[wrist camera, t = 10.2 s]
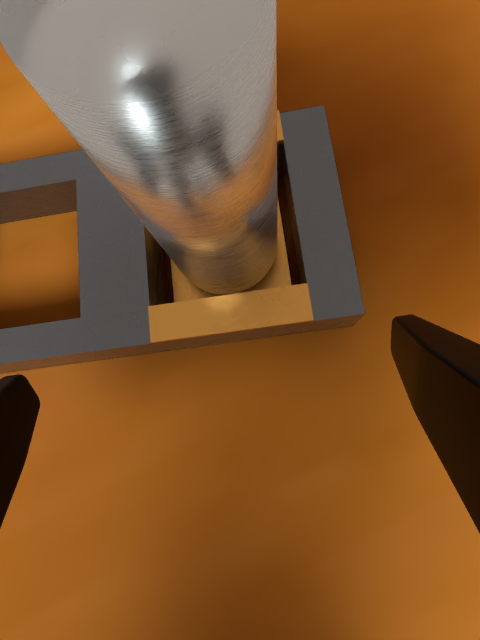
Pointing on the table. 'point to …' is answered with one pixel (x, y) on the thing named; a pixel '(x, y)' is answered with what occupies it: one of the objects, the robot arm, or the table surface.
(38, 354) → the grey flat frame
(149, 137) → the steel peg
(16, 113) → the table surface
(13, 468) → the robot arm
